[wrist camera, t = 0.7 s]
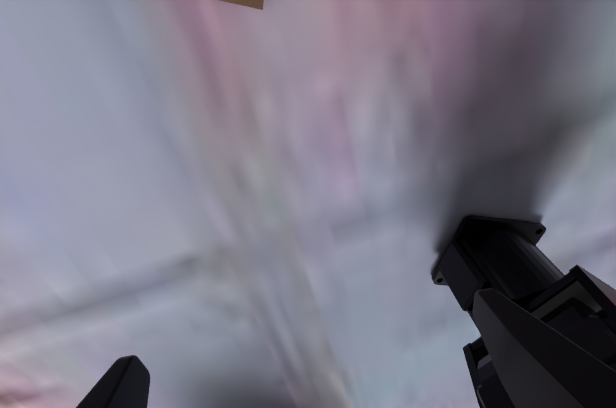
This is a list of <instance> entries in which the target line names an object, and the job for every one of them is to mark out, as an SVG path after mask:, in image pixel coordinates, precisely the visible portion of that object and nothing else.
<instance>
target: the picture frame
mask: <svg viewBox="0 0 616 408" xmlns="http://www.w3.org/2000/svg"><path fill="white" fill-rule="evenodd" d="M220 1H224V2H229V3H234V4H238V5H243V6H248V7H253V8H257V9H262V10H263V1H264V0H220Z"/></svg>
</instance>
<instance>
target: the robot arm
mask: <svg viewBox="0 0 616 408" xmlns="http://www.w3.org/2000/svg"><path fill="white" fill-rule="evenodd" d="M470 222H471V223H470ZM469 223H470V224H469ZM545 231H546V228H545V226H543V225H542V224H541V223H537V222H528V221H519V220H510V219H501V218H492V217H483V216H474V215H470V216H467V217H466V218H464V219H463V221H462V223H461V225H460V226H459V228H458V230H457V232H456V234H455V235H454V237H453V239H452V241H451V243H450V245H449V246H448V248H447V250H446V252H445V254H444V255H443V257H442V259H441V261H440V263H439V265H438V266H437V268H436V270H435V272H434V274H433V276H432V280H433V282H434V284H436V285H448V286H449V287H450V289H451V291H452V292H453V294H454V296H455V298H456V299H457V301H458V303H459V305H460V306H461V308H462V309H463V311H468V313H469V315H470V316H471V318H472V320H473V322H474V323H475V325H476V327H477V328H478V330H479V332H480V334H481V337H479V338H478V339H477V340H475V341H474V342H473V343H469V344H467V345H466V346H464V347H463V351H464V354H465V358H466V361H467V365H468V368H469V372H470V375H471V379H472V383H473V386H474V390H475V393H476V397H477V400H478V403H479V406H480V408H616V290H615V289H613V288H612V287H610V286H609V285H607V284H606V283H604V282H603V281H601V280H600V279H598V278H597V277H595V276H594V275H592V274H591V273H589V272H588V271H586V270H585V269H583V268H582V267H580V266H579V265H576V266H574V267H573V268H572V269H570V270H569V271H570V272H569V273H568V274H566V275H564V274H563V273H562V272H561V271H560V270H559V269H558V268H557V267H556V266H555V265H554V264H553V263H552V262H551V261H550V260H549V259H548V258H547V257H546V256H545V255H544V254H543V253H542V252H541V251H540V250H539V249H538V247H537V246H536V244H537V242H538V241H539V240H540V238H541V237H542V235H543V234H544V233H545ZM149 386H150V374H149V371H148V369H147V368H146V367H145V366H144V364H143V363H142V362H141V361H140V359H139V358H138V357H137V356H135V355H131V356H125V357H121V358H119V359H118V360H116V361H115V362H114V364H113V365H112V366H111V367H110V368H109V369H108V371H107V372H106V373H105V374H104V375H103V377H102V378H101V379H100V380H99V381H98V382H97V384H96V385H95V386H94V387H93V388H92V389H91V391H90V392H89V393H88V394H87V395H86V396H85V398H84V399H83V400H82V401H81V402H80V403H79V405H78V406H77V407H76V408H147V403H148V394H149Z"/></svg>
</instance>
